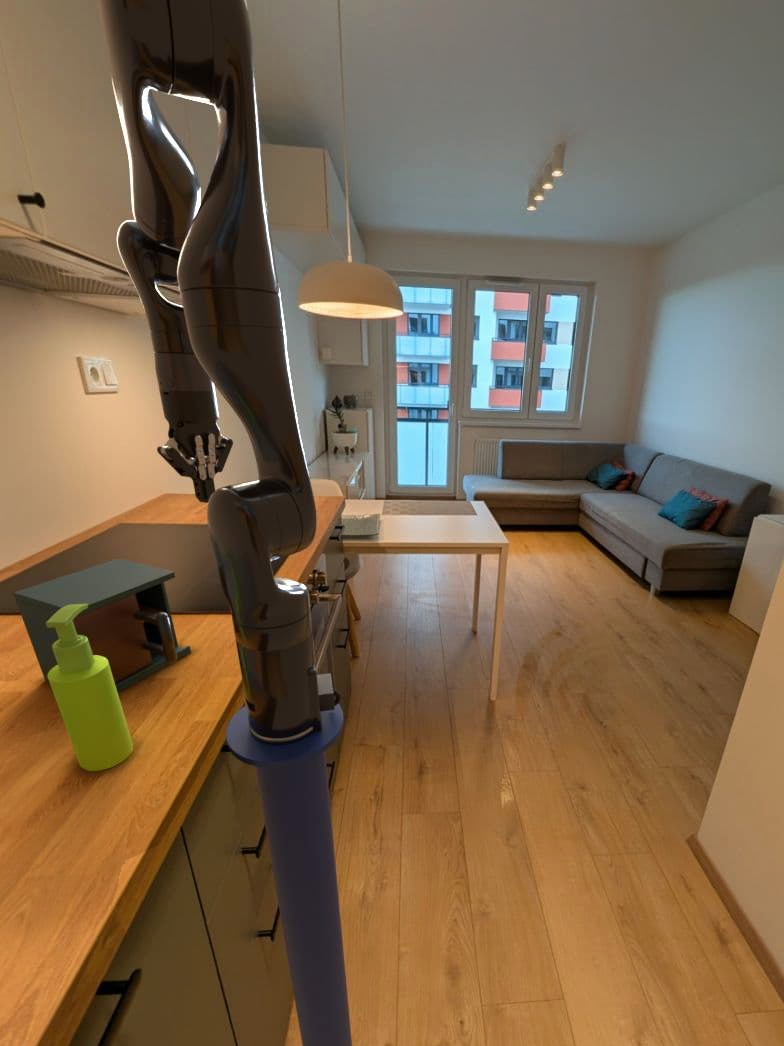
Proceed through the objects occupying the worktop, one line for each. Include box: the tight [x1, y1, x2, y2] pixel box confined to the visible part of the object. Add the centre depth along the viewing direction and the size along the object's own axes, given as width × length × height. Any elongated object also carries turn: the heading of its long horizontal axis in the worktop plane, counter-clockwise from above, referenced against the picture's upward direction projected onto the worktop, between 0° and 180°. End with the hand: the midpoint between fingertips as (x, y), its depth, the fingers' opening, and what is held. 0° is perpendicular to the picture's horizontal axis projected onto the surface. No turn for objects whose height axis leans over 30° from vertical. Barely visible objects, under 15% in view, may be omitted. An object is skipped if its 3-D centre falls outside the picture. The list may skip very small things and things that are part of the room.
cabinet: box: [13, 558, 192, 694], centre depth 80 cm, size 13×16×15 cm
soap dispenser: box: [46, 604, 134, 772], centre depth 61 cm, size 6×7×20 cm
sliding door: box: [73, 594, 178, 685], centre depth 75 cm, size 8×10×13 cm
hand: (206, 501), depth 83 cm, fingers closed
